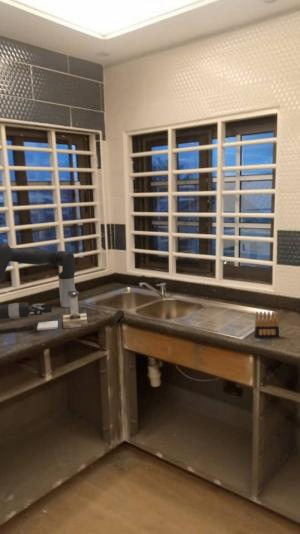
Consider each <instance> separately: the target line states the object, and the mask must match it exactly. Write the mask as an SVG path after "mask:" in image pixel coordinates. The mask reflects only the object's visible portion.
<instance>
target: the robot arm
mask: <svg viewBox="0 0 300 534" xmlns="http://www.w3.org/2000/svg"><path fill="white" fill-rule="evenodd" d="M11 262H14V263H19V264H25V265H34V266H35V265H36V266H38V265H39V266H40V265H41V266H42V265H46V264H48V265H54V266H58V267H62V268H61V269H62V271H61V272H59V273H58V275H57V276H58V277H57V278H58V288H59V301H60V307H61V308H70V297H69V295H67V293H68V292H70V291H77V288H76V286H75V285H76V283H75V272H76V259H75V255H74V254H73V252H71V251H66V250H58V251H57V250H55V251H54V250H53V251H51V250H49V251H48V250H45V249H43V248H37V247H15V248H14V247H11V246H10V245H8V244H6V243H1V244H0V284H1V283H2V280H3V278H4V275H5V273H6V270H7V268H8V267H9V264H10V263H11ZM52 308H53V303H44V302H36V303H31V305H30V304H29V302H28V301H27V302H15V303H10V304H9V303H7V304H0V320H5V319H22V318H29V317H30V316H42V315H43V314H47V313H52V312H53V309H52Z"/></svg>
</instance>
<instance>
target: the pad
mask: <svg viewBox="0 0 300 534" xmlns="http://www.w3.org/2000/svg"><path fill="white" fill-rule="evenodd" d="M58 328H59V321H58V320H52V321H51V320H49V321H39V322H38V323H37V327H36V330H37V331H45V330H57V329H58Z"/></svg>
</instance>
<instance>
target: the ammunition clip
mask: <svg viewBox="0 0 300 534" xmlns="http://www.w3.org/2000/svg"><path fill="white" fill-rule="evenodd" d="M266 313H267V314H266ZM254 319H255V320H254V332H253V334H254V335H253V337H254V338H255V339H258V338H259V339H261V338H265V339H266V338H273V339H275V338H280V327H279V326H280V324H279V323H280V321H279V311H276V312H275V313H274V311H272V312H271V313H270V311H268V312H266V311H263V313H262V311H259V314H258V311H256V312H255V318H254Z"/></svg>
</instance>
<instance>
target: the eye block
mask: <svg viewBox="0 0 300 534" xmlns="http://www.w3.org/2000/svg"><path fill="white" fill-rule="evenodd" d="M62 324H63V325H62V326H63V327H62V328H63V329H73V328H83V327H88V325H89V324H88V317H87V313H86V312H83V313H82V312H81V313H79V318H78V319H71V313H70V314H63V315H62Z"/></svg>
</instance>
